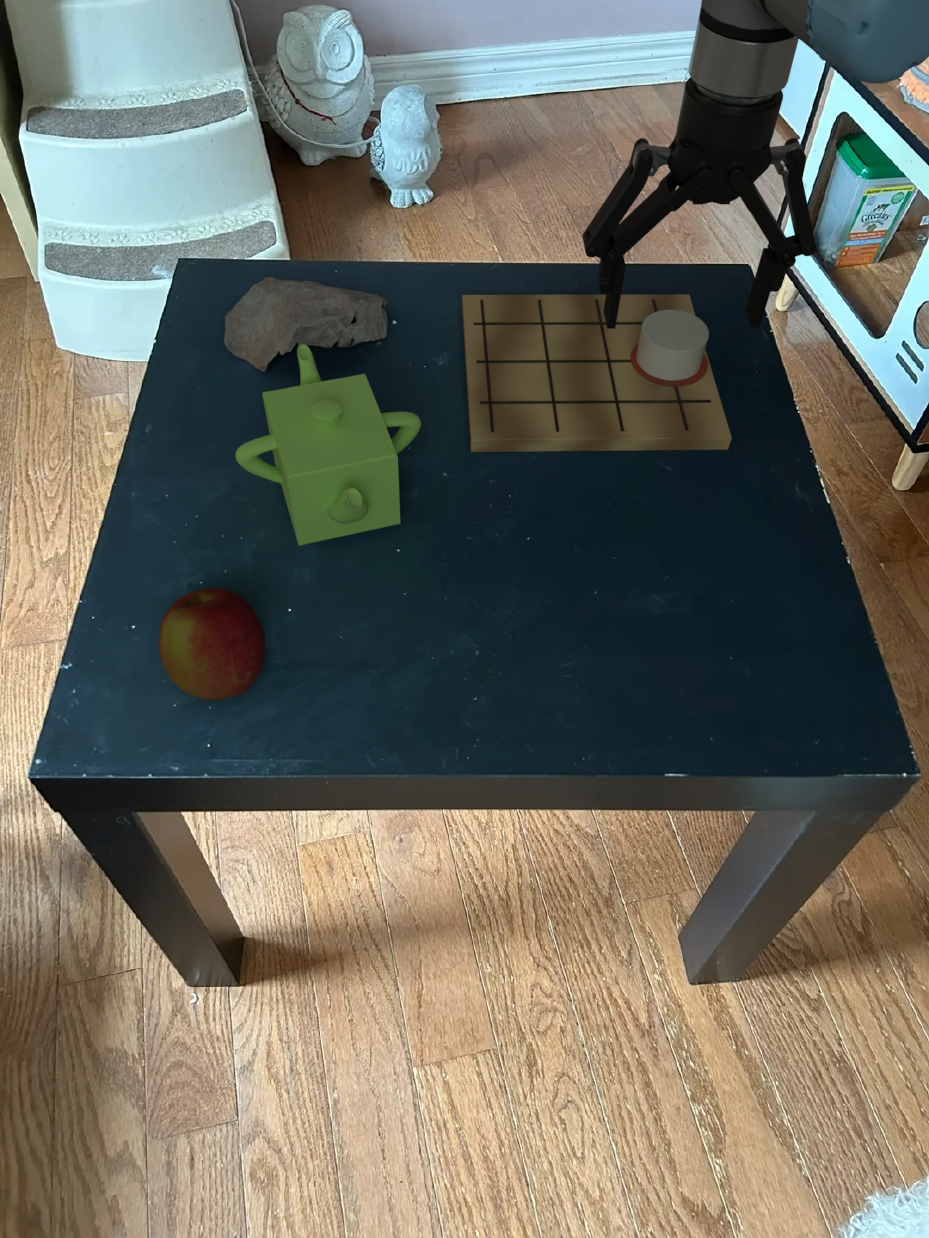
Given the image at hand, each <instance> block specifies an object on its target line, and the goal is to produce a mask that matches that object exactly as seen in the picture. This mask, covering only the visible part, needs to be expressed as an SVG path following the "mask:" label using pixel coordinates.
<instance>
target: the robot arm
mask: <svg viewBox="0 0 929 1238" xmlns="http://www.w3.org/2000/svg"><path fill="white" fill-rule="evenodd" d="M700 3H701V4H700V10H699V15H698V19H697V25H696V30H695V34H694V40H693V43H692V50H691V53H690V59H689V65H688V68H687V69H688V75H689V76H690V77H689V78H688V79H687V80H686V82H685V84H684V90H683V93H682V98H681V99H682V100H681V104H680V105H681V106H680V110H679V115H678V120H677V126H676V132H675V135H674V138H673V140H672V142H671V143H670V144H669V145H668V146H660V145H653V144H650V143H649V140H648V139H647V138H644V137H640V138H639V139H636V141H635V142H634V144H633V148H632V152H631V156H630V159H629V163H628V164H627V167H626V168H625V169H624V171H623V172H622V174H621V176H620V177H619V178H618V180H617V182H615V184H614V186H613V188H612V190H611V191H610V192H609V194H608V195H607V197H606V198H605V200H604V202H603V203H602V205H601V206H600V207H599V209H597V210H598V211H597V212H596V213H595V215H594V216H593V218H592V220H591V221H590V223H589V224H588V226H587V227H586V229H585V230H584V232H583V233H582V235H581V236H582V243H583V247H584V252H585V255H586V256H587V257H588V258H595V257H597V258H599V267H598V274H597V284H598V287H599V291H600V294H605V295H606V298H605V305H604V316H605V321H606V325H607V329H615V327H616V321H617V315H618V309H619V303H620V297H621V295H622V290H623V284H624V279H625V274H626V273H625V272H626V267H627V265H626V261H625V257H624V256H625V255H626V254H627V253H628V252H629V251H630V250H632V248H634V246H636V245H637V244H638V243H639V242H640V241H641V240H642V239H644V237H646V236H647V235H648V233H650V232H651V231H652V230H653V229H654V228H655V227H656V226H658V224H660V223H661V222H662V221H663V220H664V219H666V217H667V216H669V214H670V213H672V212H677V211H678V210H679V209H681V208H682V206H684V205H685V204H686V203H687V202H691V203H692V205H693V206H694V205H698V206H699V205H701V206H702V205H706V204H710V203H714V204H718V205H730V204H731V202H733V201H735V200H737V199H739V198H740V199H741V201H742V202H743V205H744V207H746V209H747V211H748V212H750V214H751V216H752V218H753V219H754V221H755V222H756V224H757V226H758V227H759V229H760V231H761V232H762V234H763V235H764V237H765V238H766V240H767V242H768V243H769V245H770V247H763V248H762V251H761V255H760V259H759V262H758V265H757V268H756V272H755V275H754V278H753V282H752V286H751V289H750V293H749V297H748V300H747V304H746V307H745V310H744V311H745V313H746V315H747V316H746V317H747V319H748V322H749V324H750V327H751V328H760V329H761V324H762V321H763V318H764V314H765V312H766V308H767V304H768V302H769V299H770V295H771V293H772V292H773V293H776V292H777V293H778V292H779V291H780V290H781V288H782V287H783V284H784V281H785V278H786V274H787V271H788V269H790V268H792V267H793V266H794V265H796V261H797V259H796V258H797V257H799V256H802V255H803V256H804V257H810V256H813V255H814V254H815V253H816V250H817V245H816V239H815V235H814V229H813V225H812V219H811V215H810V210H809V205H808V200H807V195H806V190H805V185H804V184H805V183H804V180H803V179H804V173H805V168H806V163H807V155H806V153H805V152H804V148H803V147H802V145H801V143H800V141H799V139H798V138H796V137H790V138H789V139H787V140H786V141H785V142H784V145H777V146H776V145H775V146H771V141H772V140H773V137H774V133H775V130H776V125H777V121H778V118H779V114H780V110H781V107H782V103H783V100H784V93H783V90H784V89H785V88H786V87H787V84H788V82H789V79H790V75H791V71H792V67H793V64H794V60H795V57H796V56H795V55H796V51H797V47H798V43H799V40H800V41H801V42H802V43H804V44H805V45H806V47H808V48H810V49H811V50H812V51H813V52H814V53H815V54H816V55H818V57H819V59H820V60H822V61H825V63H826V64H827V65H828V66H830V67H835V68H836V69H837V70H838V71H840V72H844V73H847V74H848V75H849V76H851V77H853V78H855V79H857V80H858V81H860V82H864V83H867V84H875V85H877V84H886V83H890V82H894V81H896V80H898V79H900V78H902V77H903V76H904V75H905V73H906V72H908V71H909V70H911V69H912V68H914V67H918V66H920V65H921V64H923V63H924V62H925V61H926V60H927V59H928V58H929V0H701V2H700ZM771 165H773V166H774V169H775V171H776V173H777V174H778V175H779V176H781V179H782V183H783V188H784V192H785V197H786V202H787V206H788V210H789V214H790V219H791V226H792V229H793V235H790V236H786V234H785V233H784V231H783V230H782V228H781V226H780V224H779V223H778V220H777V219H776V218H775V216H774V214H773V212H772V211H771V209H770V208H769V206H768V204H767V202H766V201H765V200H764V197H763V196H762V193H760V191H759V189H758V188H757V186H756V184H755V182H756V181H757V180H758V179H759V178H760V177H761V176H762V175H763V174H764V173H765V172H766V171H767V170H768V169H769V168H770V166H771ZM662 166H667V167H668V170H669V172H668V173H667V174H666V175H665V176H664V177H662V179H661V180H660V181H659V183H658V186H657V187H656V189H654V190H653V191H652V192H651V193H650V194H649V195H647V197H646V198H645V199H644V200H643V201H642V202H641V203H639V205H637V206H636V208H634V209H633V210H632V211H631V212H630V213H629V214H628V215H627V216H625V215H626V214H627V213H628V212H629V210H630V209H631V207H632V206H633V205H634V203H635V201H636V200H637V199H638V197H639V196H640V194H641V193H642V191H643V189H645V186H646V184H647V182H648V179H649V177H650V178H652V177H654V176H655V175H656V173H657V172H658V170H659V169H660V168H661V167H662ZM624 217H625V218H624ZM623 218H624V219H623Z"/></svg>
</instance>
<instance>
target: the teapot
mask: <svg viewBox="0 0 929 1238" xmlns="http://www.w3.org/2000/svg"><path fill="white" fill-rule="evenodd" d="M296 355H297V361H298V365H299V374H300V378H299V379H300V380H299V381H300V382H299V383H300V384H299V385H296V386H291V387H285V388H280V389H275V390H269V391H263V392H262V400H263V406H264V411H265V416H266V423H267V427H268V433H269V434H268V435H264V436H260V437H257V438H254V439H251V440H249V441H246V442H244V443H243V444H242V445H240V446H239V447H238V448H237V449H236V451H235V460H236V462H237V463H238V464H239V466H240V467H241V468H242V469H244V470H246V471H247V472H249V473H250V474H251V475H254V476H257V477H259V478H262V479H266V480H269V481H270V482H271V481H272V482H275V483H278V484H280V485H281V490H282V491H283V496H284V500H285V503H286V507H287V510H288V513H289V518H290V521H291V524H292V528H293V531H294V535H295V537H296V541H297V545H298V546H304V545H309V544H313V543H318V542H322V541H327V540H332V539H335V538H340V537H346V536H350V535H355V534H359V533H360V534H361V533H364V532H367V531H373V530H377V529H382V528H386V527H392V526H396V525H401V503H400V502H401V501H400V477H399V455H398V454H399V453H400V452H402V451H403V450H404V449H405V448H406V447H408V446H409V445H410V444H411V443H412V441H413V440H414V439H415V438H416V437H417V435H418V433H419V432H420V430H421V428H422V421H421V418H420V417H419V415H418V414H416V413H414V412H410V411H389V412H381V410H380V407H379V405H378V403H377V400H376V398H375V395H374V392H373V389H372V387H371V385H370V382H369V379H368V377H367V375H366V373H361V374H355V375H351V376H346V377H340V378H334V379H328V380H322V378H321V376H320V373H319V371H318V369H317V365H316V362H315V358H314V354H313V353H312V350H311V349H310V347H309V345H300V346H297V349H296ZM395 427H396V428H397V427H398V430H397V432H396V433H395V434H394V435H393V437H392V438H391V436H390V435H391V434H390V432H389V431H388V428H395ZM270 451H272V455H273V461H274V464H275V466H274V465H271V464H269V463H267V462H265V460H263V459H262V458H260V457H259V455H263V454H265V453H268V452H270Z"/></svg>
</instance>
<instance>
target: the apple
mask: <svg viewBox="0 0 929 1238" xmlns="http://www.w3.org/2000/svg"><path fill="white" fill-rule="evenodd" d="M159 625H160V626H159V630H158V652H159V658H160V661H161V664H162V666H163V669H164V671H165V672H166V674H167V675H168V677H169V679H170V680H171V681H172V683H173V684H175V685H176V686H177V687H178V688H179V689H180V690H181V691H183V692H184V693H185V694H187V695H190V696H192V697H195V698H198V699H200V700H205V701H219V700H227V699H231V698H234V697H237V696H241V695H243V694H244V693H246V692H248V690H250V689H251V687H253V685H254V684H255V683H256V681H257V679H258V677H259V676H260V673H261V671H262V669H263V666H264V661H265V656H266V638H265V633H264V628H263V625H262V622H261V620H260V618H259V616H258V614H257V613H256V610H255V609H254V608H253V606H252V605H251V604H250V603H249V602H248V600H246V599H245V598H244V597H243V596H241V595H240V594H238V593H236V592H234V591H231V590H228V589H225V588H214V587H207V588H200V589H197V590H193V591H190V592H189V593H187V594H185V595H182V596H181V597H179V598H178V599H177V600H175V602H173V603H172V604H171V605H170V606H169V608H168V609H167V610H166V612H165V613H164V615H163V616H162V620H161V622H160V624H159Z"/></svg>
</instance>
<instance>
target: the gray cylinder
mask: <svg viewBox="0 0 929 1238" xmlns="http://www.w3.org/2000/svg"><path fill="white" fill-rule="evenodd" d="M709 337H710V332H709V328H708V326H707V324H706V323H705V322H704V321H703V320H702V319H701V318H699V317H698V316H696V315H695V316H694V315H692V314H690V313H687V312H684V311H679V310H661V311H657V312H654V313H652V314H650V315H649V316H648V317H646V318H645V320H644V321H643V324H642V328H641V333H640V338H639V342H638V347H637V352H636V360H637V363H638V365H639V366H640V367H641V369H642V370H644V371H645V372H646V373H648V374H649V375H651V376H653V377H656V378H659V379H663V380H670V381H676V380H684V379H687V378H690V377H692V376H693V375H695V374H696V373H697V372H698V371H699V369H700V367H701V363H702V360H703V356H704V352H705V349H707V343H708V341H709Z"/></svg>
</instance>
